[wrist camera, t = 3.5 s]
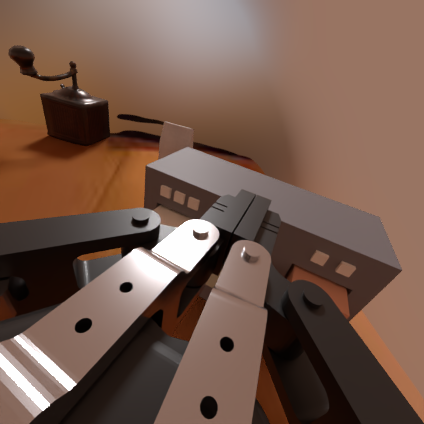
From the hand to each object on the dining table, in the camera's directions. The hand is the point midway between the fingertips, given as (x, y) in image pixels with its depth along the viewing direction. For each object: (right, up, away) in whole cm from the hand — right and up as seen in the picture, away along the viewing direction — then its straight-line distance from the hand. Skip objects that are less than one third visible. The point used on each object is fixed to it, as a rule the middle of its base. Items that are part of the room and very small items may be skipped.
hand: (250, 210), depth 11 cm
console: (+1, -9, +18) cm, 21 cm away
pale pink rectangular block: (-11, +11, +44) cm, 46 cm away
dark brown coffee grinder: (-37, +18, +45) cm, 61 cm away
